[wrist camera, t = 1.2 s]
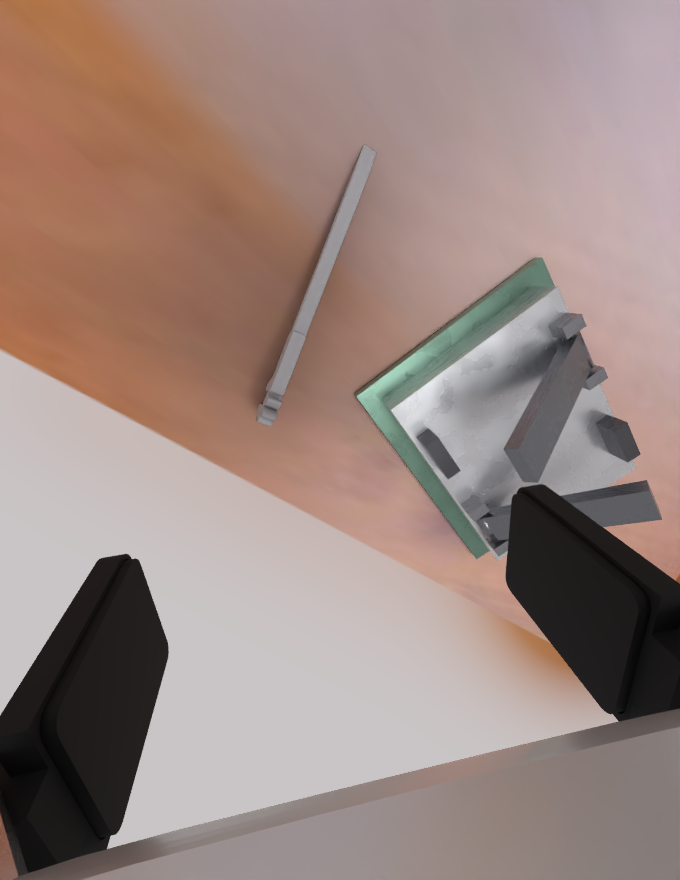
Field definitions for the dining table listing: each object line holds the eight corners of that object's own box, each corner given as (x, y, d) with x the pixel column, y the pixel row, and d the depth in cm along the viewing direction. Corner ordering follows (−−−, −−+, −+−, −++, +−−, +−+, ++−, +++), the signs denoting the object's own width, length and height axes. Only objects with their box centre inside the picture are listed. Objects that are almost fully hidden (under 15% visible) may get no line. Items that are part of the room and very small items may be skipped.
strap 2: (488, 531, 37) (487, 542, 36) (473, 510, 35) (472, 521, 35) (658, 507, 29) (662, 520, 28) (646, 479, 28) (650, 491, 27)
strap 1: (565, 333, 31) (582, 329, 30) (579, 364, 32) (595, 361, 31) (501, 449, 25) (520, 448, 24) (521, 482, 26) (539, 482, 25)
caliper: (269, 412, 34) (269, 439, 28) (257, 407, 33) (254, 434, 28) (375, 153, 28) (402, 120, 22) (361, 145, 28) (385, 109, 22)
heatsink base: (534, 258, 32) (588, 253, 27) (620, 452, 41) (675, 479, 35) (354, 393, 34) (369, 415, 28) (472, 553, 42) (502, 593, 37)
